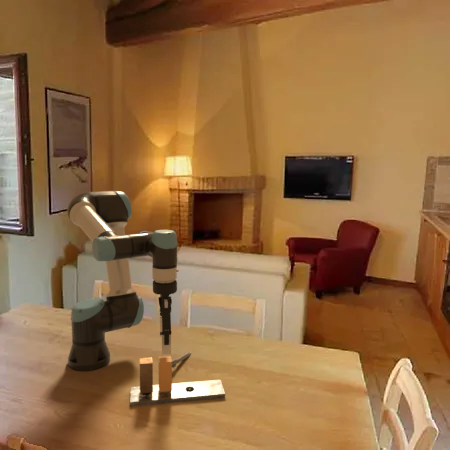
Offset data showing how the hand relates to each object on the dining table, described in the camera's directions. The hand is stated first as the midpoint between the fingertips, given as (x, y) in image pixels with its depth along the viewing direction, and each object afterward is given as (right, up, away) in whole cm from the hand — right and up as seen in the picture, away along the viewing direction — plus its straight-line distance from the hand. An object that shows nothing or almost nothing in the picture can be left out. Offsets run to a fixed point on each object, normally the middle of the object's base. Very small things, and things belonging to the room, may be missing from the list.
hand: (165, 344), depth 135 cm
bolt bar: (+3, -17, +4) cm, 18 cm away
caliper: (+2, -15, +23) cm, 28 cm away
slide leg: (0, -16, +2) cm, 16 cm away
